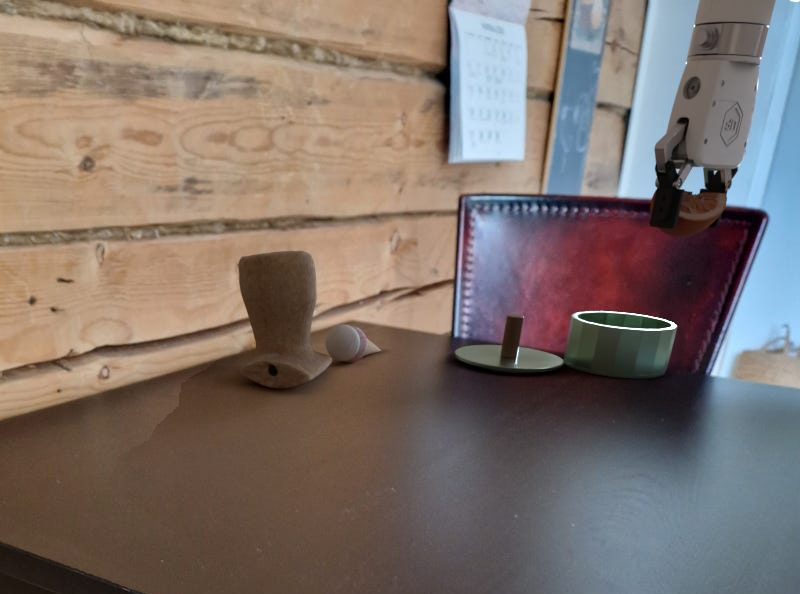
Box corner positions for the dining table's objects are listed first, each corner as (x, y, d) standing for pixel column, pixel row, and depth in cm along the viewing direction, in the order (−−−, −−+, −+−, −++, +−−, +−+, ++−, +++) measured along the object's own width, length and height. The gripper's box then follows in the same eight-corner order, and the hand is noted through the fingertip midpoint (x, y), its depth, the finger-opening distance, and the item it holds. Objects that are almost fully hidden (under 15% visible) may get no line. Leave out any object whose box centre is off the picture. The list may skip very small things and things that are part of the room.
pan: (603, 352, 134) (613, 308, 131) (685, 372, 124) (697, 325, 121) (543, 360, 127) (551, 314, 123) (624, 382, 117) (636, 333, 113)
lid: (504, 348, 133) (511, 303, 129) (584, 370, 122) (594, 321, 119) (432, 357, 125) (437, 309, 121) (511, 381, 114) (519, 329, 111)
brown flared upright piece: (255, 360, 117) (256, 240, 109) (339, 370, 115) (346, 247, 107) (215, 385, 104) (213, 251, 97) (309, 396, 102) (315, 259, 94)
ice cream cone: (361, 354, 129) (312, 345, 116) (379, 327, 126) (331, 315, 114) (384, 373, 128) (337, 367, 115) (402, 346, 125) (356, 336, 113)
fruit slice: (705, 236, 104) (717, 190, 102) (727, 242, 98) (740, 193, 96) (637, 232, 104) (647, 186, 102) (655, 238, 98) (666, 189, 96)
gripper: (714, 37, 85) (670, 231, 94) (799, 55, 94) (752, 229, 103) (648, 41, 90) (612, 224, 99) (735, 57, 99) (695, 223, 108)
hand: (684, 226), depth 101 cm, fingers closed on fruit slice, 8 cm apart
